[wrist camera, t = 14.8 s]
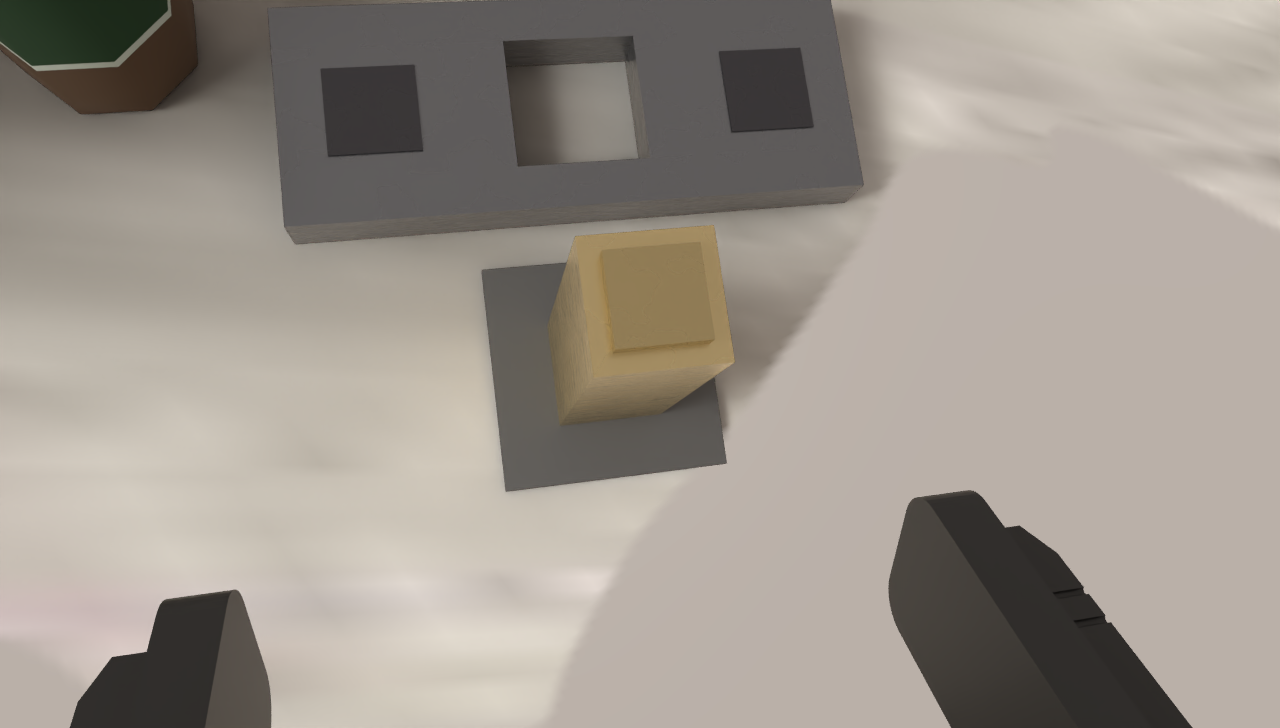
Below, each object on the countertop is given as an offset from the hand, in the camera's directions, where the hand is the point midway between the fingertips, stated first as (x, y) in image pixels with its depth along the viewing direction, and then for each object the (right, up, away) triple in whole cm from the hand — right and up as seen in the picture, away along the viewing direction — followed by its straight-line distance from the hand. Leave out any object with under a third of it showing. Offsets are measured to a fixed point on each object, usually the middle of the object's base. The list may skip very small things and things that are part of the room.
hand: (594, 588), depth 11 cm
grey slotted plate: (-3, +14, +34) cm, 37 cm away
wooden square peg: (-1, +2, +31) cm, 32 cm away
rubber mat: (-1, +3, +32) cm, 32 cm away
